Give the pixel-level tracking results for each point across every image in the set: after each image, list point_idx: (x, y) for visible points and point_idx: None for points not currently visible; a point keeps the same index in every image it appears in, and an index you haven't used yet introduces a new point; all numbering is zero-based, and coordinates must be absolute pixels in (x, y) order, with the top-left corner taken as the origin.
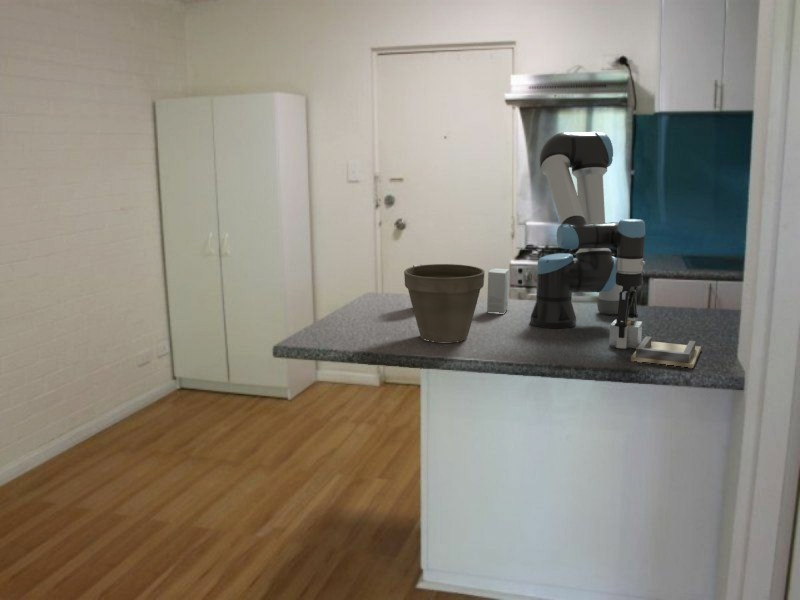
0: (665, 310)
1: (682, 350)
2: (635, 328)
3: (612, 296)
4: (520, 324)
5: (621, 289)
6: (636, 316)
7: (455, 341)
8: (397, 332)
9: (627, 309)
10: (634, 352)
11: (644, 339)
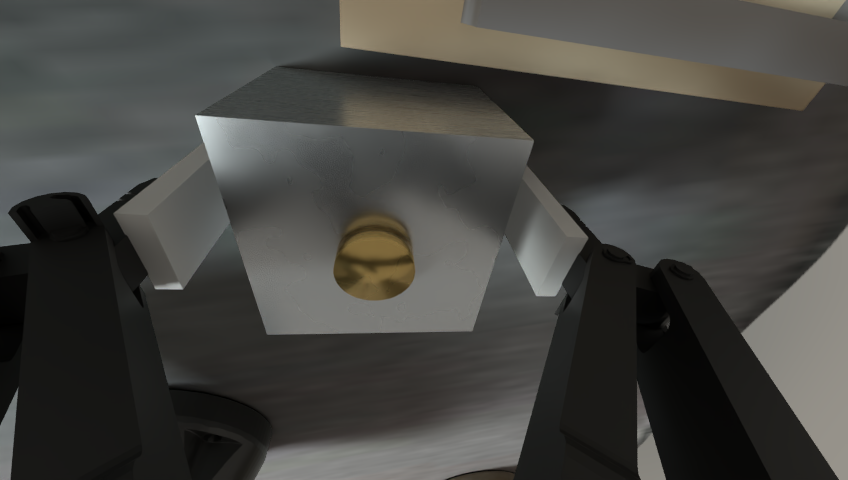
0: None
1: None
2: (519, 161)
3: None
4: (269, 461)
5: None
6: (76, 214)
7: (512, 475)
8: None
9: (625, 406)
10: (707, 97)
11: (614, 37)
